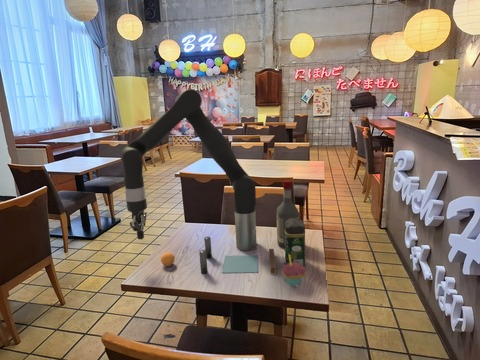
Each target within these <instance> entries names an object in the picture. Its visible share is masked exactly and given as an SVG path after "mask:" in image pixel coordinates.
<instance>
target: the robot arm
mask: <svg viewBox="0 0 480 360" xmlns="http://www.w3.org/2000/svg"><path fill="white" fill-rule="evenodd" d="M175 100H176V101H175V102H174V103H173V104H172V105H171V107H170V108H169V109H168V110H167V111H166V112H165V113H164V114H162V115H161V116H160V117H159V118H158V119H157V120H155V121H154V122H152V124H150V126H148V127H147V128H146V129H145V130H144V131H143V132H142V133H141V134H140V135H139V136H138V137H137V138H136V139H134V140H132V142H130V143H129V144H127V146H125V147H124V148H123V149H122V151H121V152H120V159H121V162H122V163H123V169H124V176H123V179H124V181H123V182H124V188H125V189H124V191H125V192H124V193H125V200H126V201H125V202H126V208H127V211H128V212H130V213H131V221H130V222H129V226H130V227H131V229H132V230H133V232H136V235H137V237H136V238H137V240H143V239H144V238H145V233H144V229H145V227H146V223H147V215H148V213H147V211H145V210H146V209H147V208H148V204H147V195H146V189H145V183H144V176H143V165H144V164H143V156H144V155H145V154H147V153H148V152H150V151H152V150H153V149H155V148H156V147H157V146H158V145H159V144H160V142H161V143H162V141H163V140H164V139H165V138H166V137H167V136H168V135H169V133H170V132H172V130H173V129H174V128H175V127H177V125H179V123H181V122H182V121H183V120H184V119H185V120H187V122H188V123H189V124H190V126H191V127H192V129H193V130H194V132H195V133H196V135H197V136H198V138H199V140H200V142H201V143H202V145H203V147H204V148H205V150H206V151H207V153H208V154H209V156H210V157H211V158H212V160H214V161H215V163H216V164H217V165H218V166H219V167H220V168H221V169H222V171H223V172H224V173H225V175H226V176H227V178H228V180H229V182H230V184H231V186H232V188H233V194H234V197H233V198H234V205H233V206H234V207H233V208H234V224H235V225H234V226H235V229H234V230H235V245H236V249H237V250H240V251H252V250H256V249H257V222H256V203H257V195H256V194H257V191H256V183H255V181H254V180H253V179H252V177H250V176H249V174H248V173H247V172H246V171H245V170H244V169H243V167H242V166H241V164H240V163H239V162H238V160H237V158H236V155H235V153H234V151H233V148H232V147H231V145H230V143H229V142H228V140H227V139H226V137H225V135H224V133H222V132H221V130H219V129H218V128H217V126H215V125H214V123H212V122H211V121H210V120H209V119H208V117H207V116H206V114H205V113H204V111H203V109H202V107H201V105H202V96H201V94H200V93H199V91H198V90H195V89H192V88H188V89H183V90H182V91H181V92H180V93H179V94H178V95H177V97H176V99H175Z"/></svg>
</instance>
